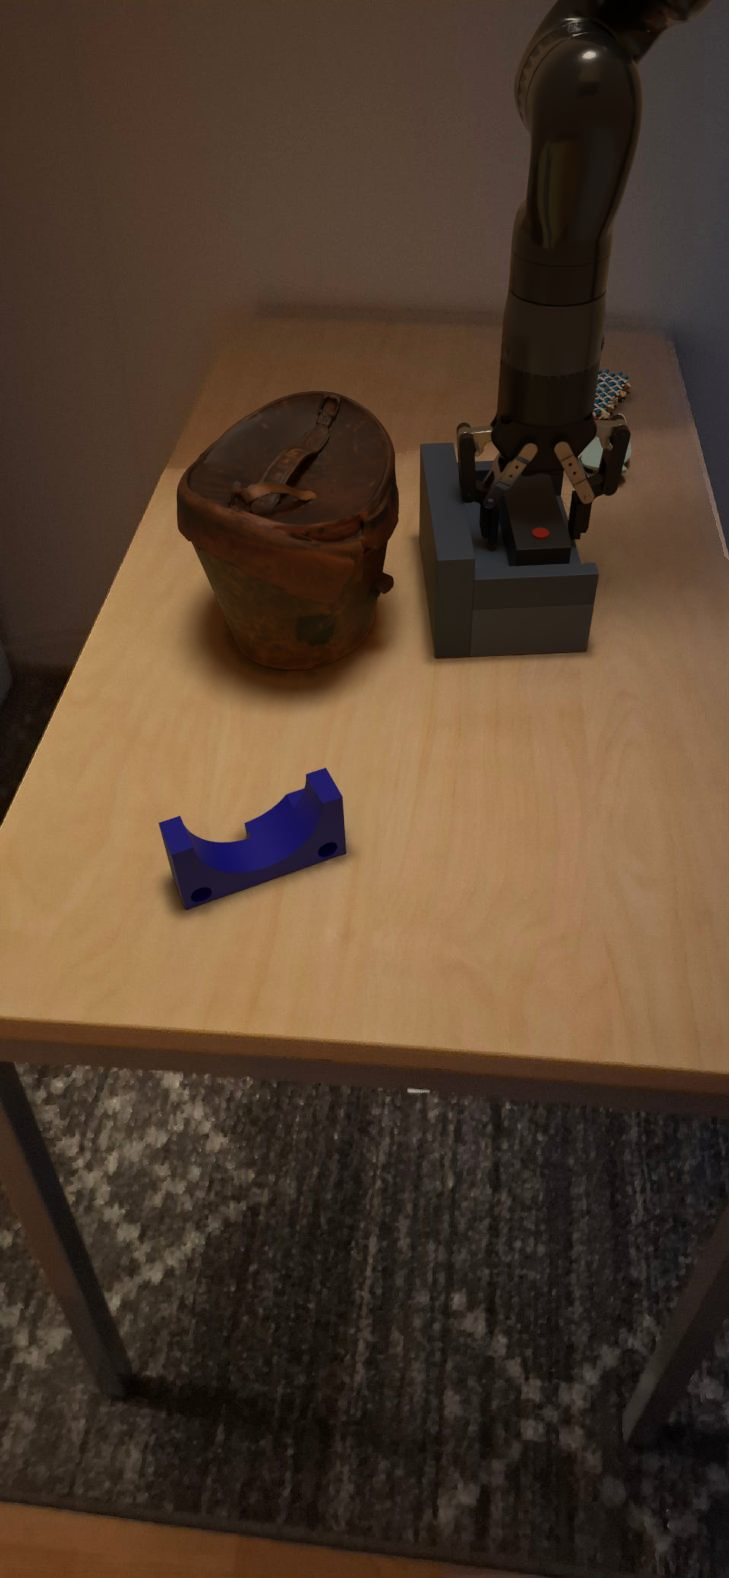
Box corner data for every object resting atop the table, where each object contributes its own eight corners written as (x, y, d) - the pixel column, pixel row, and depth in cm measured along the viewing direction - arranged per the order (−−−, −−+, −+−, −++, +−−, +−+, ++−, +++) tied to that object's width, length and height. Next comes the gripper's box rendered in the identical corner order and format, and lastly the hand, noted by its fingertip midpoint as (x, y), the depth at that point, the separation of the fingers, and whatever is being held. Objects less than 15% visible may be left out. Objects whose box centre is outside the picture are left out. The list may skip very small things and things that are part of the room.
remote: (544, 504, 95) (548, 467, 93) (566, 582, 87) (572, 544, 85) (495, 506, 95) (498, 470, 93) (513, 585, 87) (516, 547, 85)
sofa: (552, 532, 101) (564, 437, 94) (586, 651, 89) (602, 552, 82) (419, 538, 101) (420, 443, 94) (434, 658, 89) (437, 560, 82)
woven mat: (511, 411, 118) (513, 394, 116) (547, 372, 124) (549, 355, 122) (600, 431, 114) (602, 414, 112) (632, 390, 120) (635, 373, 119)
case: (205, 717, 85) (168, 527, 72) (194, 573, 98) (161, 391, 85) (421, 689, 86) (424, 498, 73) (380, 552, 100) (377, 370, 87)
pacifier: (563, 485, 107) (622, 491, 106) (568, 428, 102) (630, 434, 101) (574, 450, 112) (631, 455, 110) (580, 394, 107) (639, 399, 106)
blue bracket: (322, 810, 77) (317, 753, 73) (346, 852, 75) (342, 796, 70) (167, 863, 74) (152, 807, 70) (185, 909, 72) (171, 854, 67)
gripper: (635, 322, 81) (606, 509, 93) (451, 331, 81) (446, 517, 93) (657, 366, 76) (623, 558, 88) (461, 376, 76) (454, 566, 88)
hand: (532, 536), depth 91 cm, fingers open, 6 cm apart
